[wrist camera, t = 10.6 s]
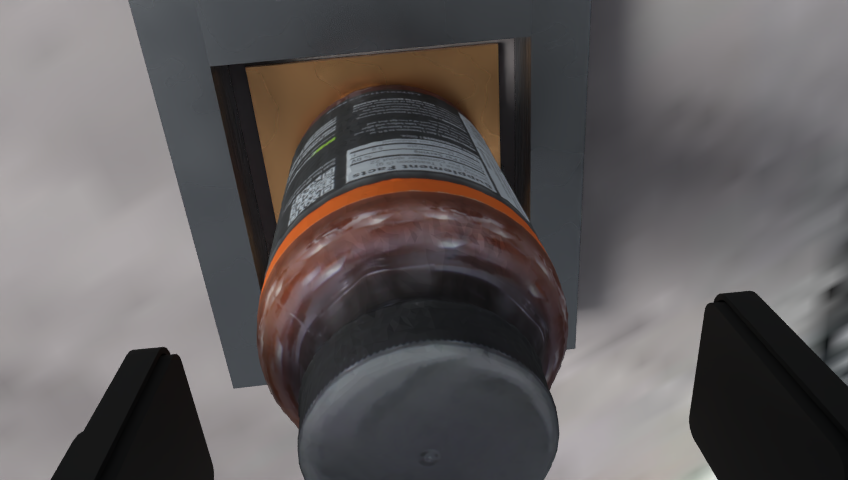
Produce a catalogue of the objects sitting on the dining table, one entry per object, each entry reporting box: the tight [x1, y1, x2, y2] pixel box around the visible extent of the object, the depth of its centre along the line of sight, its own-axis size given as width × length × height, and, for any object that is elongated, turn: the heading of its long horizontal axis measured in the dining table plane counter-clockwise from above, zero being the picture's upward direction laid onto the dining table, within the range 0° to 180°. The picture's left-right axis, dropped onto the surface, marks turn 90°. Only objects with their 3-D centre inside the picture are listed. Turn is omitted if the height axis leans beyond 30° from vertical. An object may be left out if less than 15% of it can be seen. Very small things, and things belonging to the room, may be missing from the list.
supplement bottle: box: [257, 85, 568, 480], centre depth 15 cm, size 6×6×11 cm
